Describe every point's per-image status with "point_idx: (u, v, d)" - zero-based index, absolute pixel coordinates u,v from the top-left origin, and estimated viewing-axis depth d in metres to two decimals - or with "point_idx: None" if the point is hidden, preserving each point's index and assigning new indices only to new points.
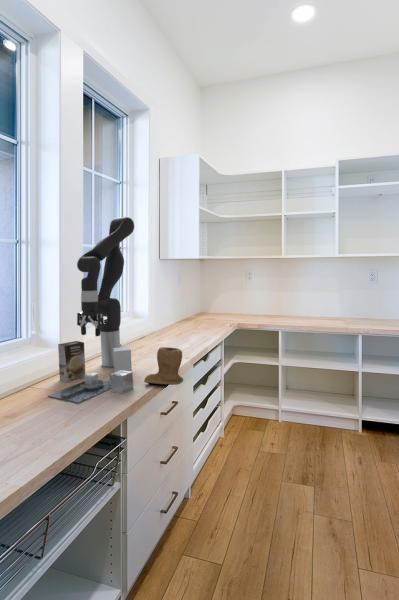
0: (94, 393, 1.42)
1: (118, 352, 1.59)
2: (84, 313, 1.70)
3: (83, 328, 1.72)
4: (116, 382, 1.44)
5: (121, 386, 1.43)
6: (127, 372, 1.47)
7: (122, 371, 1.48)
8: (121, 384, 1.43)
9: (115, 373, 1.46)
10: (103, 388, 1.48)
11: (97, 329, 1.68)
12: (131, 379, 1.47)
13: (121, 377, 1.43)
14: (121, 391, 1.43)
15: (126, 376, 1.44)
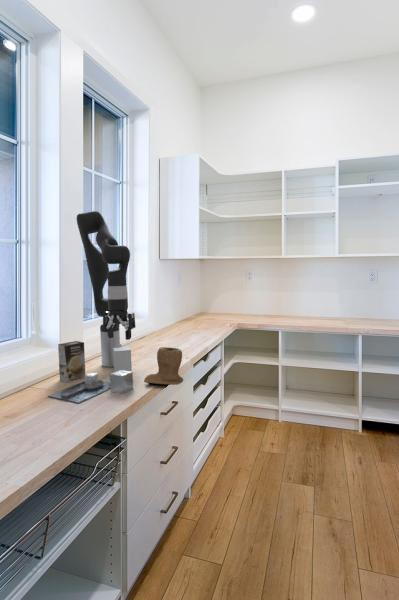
0: (94, 393, 1.42)
1: (118, 352, 1.59)
2: (111, 312, 1.44)
3: (110, 330, 1.46)
4: (116, 382, 1.44)
5: (121, 386, 1.43)
6: (127, 372, 1.47)
7: (122, 371, 1.48)
8: (121, 384, 1.43)
9: (115, 373, 1.46)
10: (103, 388, 1.48)
11: (128, 331, 1.42)
12: (131, 379, 1.47)
13: (121, 377, 1.43)
14: (121, 391, 1.43)
15: (126, 376, 1.44)
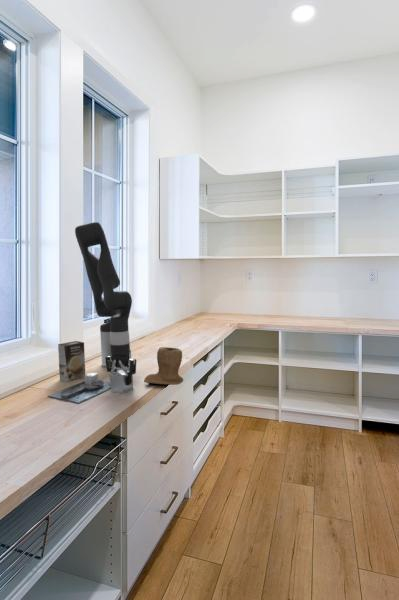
0: (94, 393, 1.42)
1: None
2: (113, 356, 1.46)
3: None
4: (116, 382, 1.44)
5: (121, 386, 1.43)
6: None
7: (122, 371, 1.48)
8: (121, 384, 1.43)
9: (115, 373, 1.46)
10: (103, 388, 1.48)
11: (128, 377, 1.44)
12: (131, 379, 1.47)
13: (121, 377, 1.43)
14: (121, 391, 1.43)
15: None
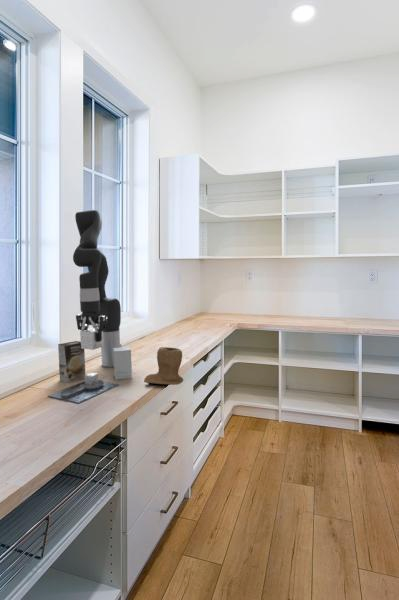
0: (94, 393, 1.42)
1: (118, 352, 1.59)
2: (83, 314, 1.48)
3: None
4: (86, 338, 1.46)
5: (91, 342, 1.45)
6: None
7: (92, 329, 1.49)
8: (91, 340, 1.45)
9: (85, 330, 1.47)
10: (103, 388, 1.48)
11: (98, 334, 1.46)
12: (102, 336, 1.49)
13: (91, 333, 1.44)
14: (91, 347, 1.45)
15: None
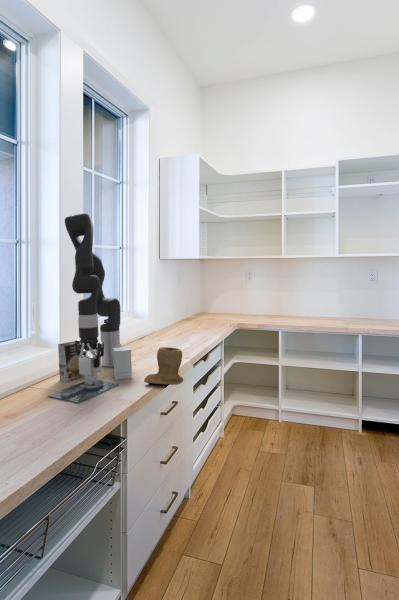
0: (94, 393, 1.42)
1: (118, 352, 1.59)
2: (82, 339, 1.49)
3: None
4: (84, 364, 1.47)
5: (89, 368, 1.46)
6: None
7: (90, 355, 1.50)
8: (89, 366, 1.46)
9: (84, 356, 1.48)
10: (103, 388, 1.48)
11: (96, 360, 1.47)
12: (100, 362, 1.50)
13: (89, 359, 1.45)
14: (89, 373, 1.46)
15: None
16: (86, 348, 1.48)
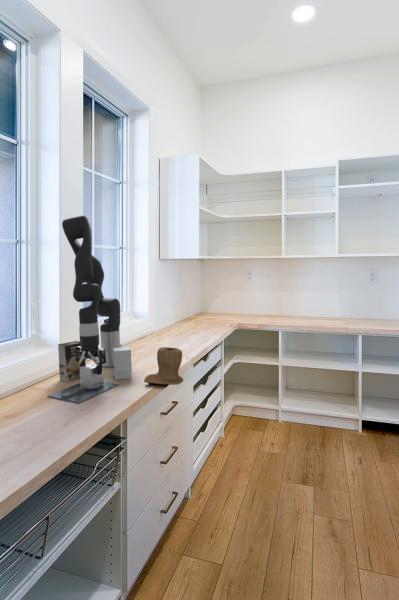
0: (94, 393, 1.42)
1: (118, 352, 1.59)
2: (83, 348, 1.49)
3: (82, 364, 1.51)
4: (85, 375, 1.47)
5: (90, 379, 1.46)
6: None
7: (91, 365, 1.51)
8: (90, 377, 1.46)
9: (85, 366, 1.49)
10: (103, 388, 1.48)
11: (98, 367, 1.47)
12: None
13: (90, 370, 1.46)
14: (90, 384, 1.46)
15: (95, 369, 1.48)
16: (86, 356, 1.49)
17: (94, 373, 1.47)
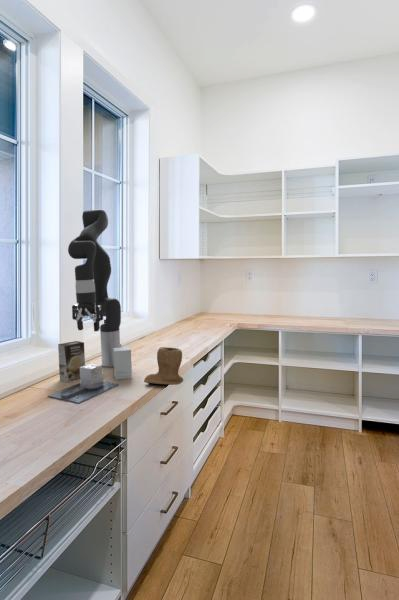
0: (94, 393, 1.42)
1: (118, 352, 1.59)
2: (80, 305, 1.50)
3: (80, 322, 1.52)
4: (85, 375, 1.47)
5: (90, 379, 1.46)
6: (97, 365, 1.50)
7: (91, 365, 1.51)
8: (90, 377, 1.46)
9: (85, 366, 1.49)
10: (103, 388, 1.48)
11: (96, 323, 1.48)
12: (101, 372, 1.51)
13: (90, 370, 1.46)
14: (90, 384, 1.46)
15: (95, 369, 1.48)
16: (83, 314, 1.50)
17: (94, 373, 1.47)
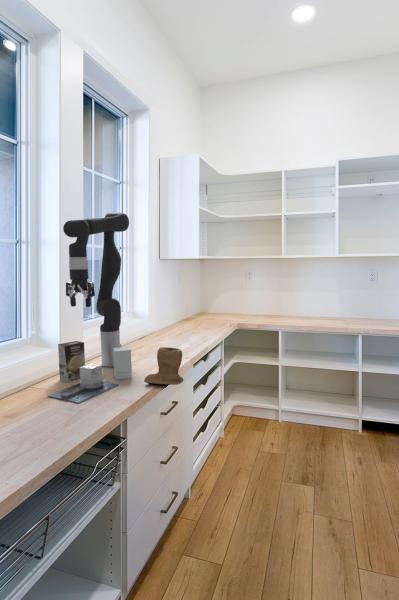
0: (94, 393, 1.42)
1: (118, 352, 1.59)
2: (73, 282, 1.56)
3: (72, 299, 1.58)
4: (85, 375, 1.47)
5: (90, 379, 1.46)
6: (97, 365, 1.50)
7: (91, 365, 1.51)
8: (90, 377, 1.46)
9: (85, 366, 1.49)
10: (103, 388, 1.48)
11: (87, 299, 1.54)
12: (101, 372, 1.51)
13: (90, 370, 1.46)
14: (90, 384, 1.46)
15: (95, 369, 1.48)
16: (76, 290, 1.56)
17: (94, 373, 1.47)
